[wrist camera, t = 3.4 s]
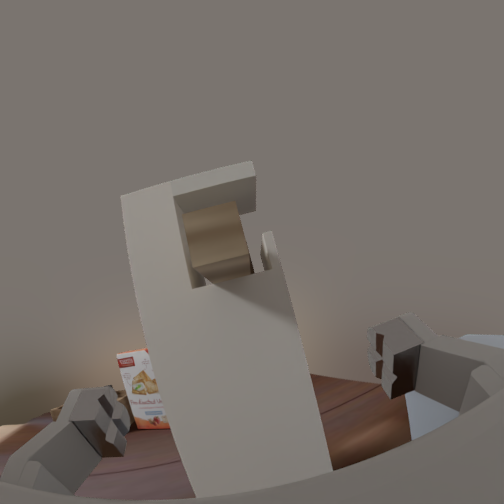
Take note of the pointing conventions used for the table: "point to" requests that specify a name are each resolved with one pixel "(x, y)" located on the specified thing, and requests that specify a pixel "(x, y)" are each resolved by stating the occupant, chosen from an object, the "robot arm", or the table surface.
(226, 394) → the stand
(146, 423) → the cracker box
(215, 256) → the mallet
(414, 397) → the block
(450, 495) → the robot arm
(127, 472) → the table surface
